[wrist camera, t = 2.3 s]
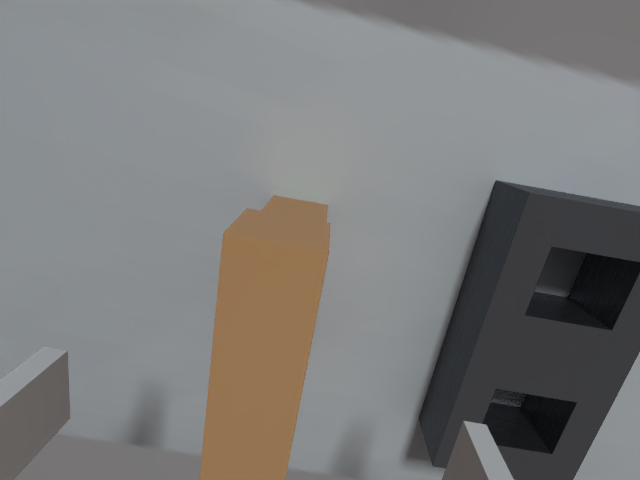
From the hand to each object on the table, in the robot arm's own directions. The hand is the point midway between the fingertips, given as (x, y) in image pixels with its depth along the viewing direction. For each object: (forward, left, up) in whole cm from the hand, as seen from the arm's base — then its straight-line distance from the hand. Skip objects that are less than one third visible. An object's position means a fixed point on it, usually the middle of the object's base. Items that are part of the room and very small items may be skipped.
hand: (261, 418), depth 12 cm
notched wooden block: (0, 0, -10) cm, 10 cm away
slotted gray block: (+10, +10, -10) cm, 17 cm away
